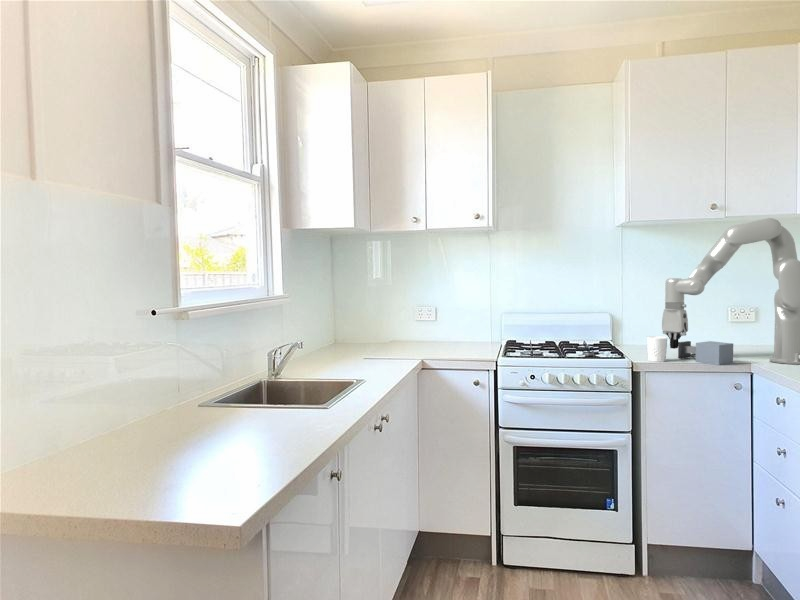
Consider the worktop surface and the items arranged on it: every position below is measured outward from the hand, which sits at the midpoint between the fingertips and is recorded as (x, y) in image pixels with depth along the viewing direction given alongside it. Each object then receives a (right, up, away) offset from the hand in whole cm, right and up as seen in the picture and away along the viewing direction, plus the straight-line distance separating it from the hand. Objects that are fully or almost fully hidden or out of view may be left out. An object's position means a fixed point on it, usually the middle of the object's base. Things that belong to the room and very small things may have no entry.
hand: (674, 348), depth 258 cm
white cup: (-12, -5, -9) cm, 16 cm away
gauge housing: (+8, -4, -10) cm, 13 cm away
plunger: (+7, -4, -7) cm, 10 cm away
